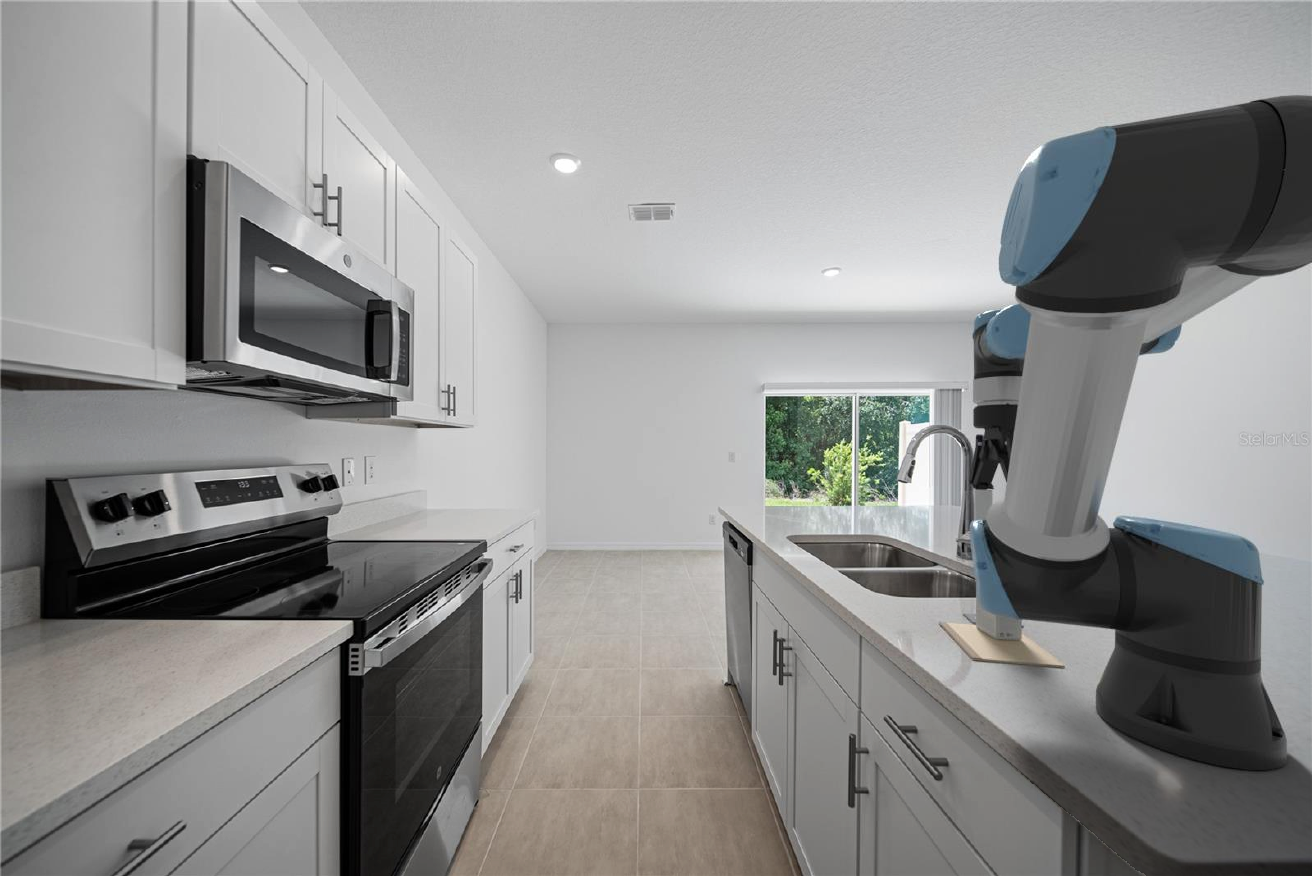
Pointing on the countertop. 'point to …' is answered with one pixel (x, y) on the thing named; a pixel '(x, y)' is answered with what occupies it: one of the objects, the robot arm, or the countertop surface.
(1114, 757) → the countertop surface
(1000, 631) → the skincare box
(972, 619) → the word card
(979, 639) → the notepad
